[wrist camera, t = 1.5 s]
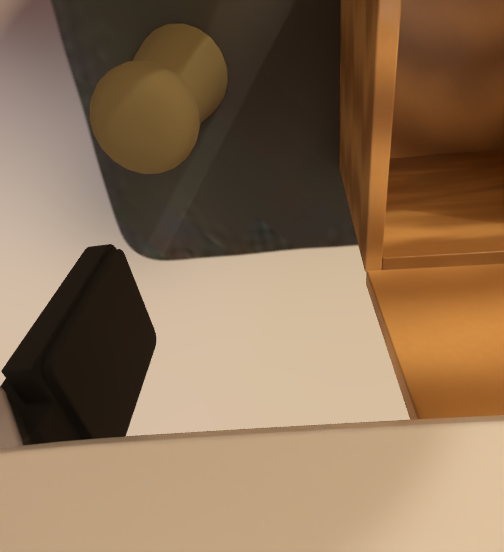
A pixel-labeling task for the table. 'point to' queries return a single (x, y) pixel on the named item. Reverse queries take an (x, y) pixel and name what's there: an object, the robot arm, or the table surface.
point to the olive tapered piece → (159, 99)
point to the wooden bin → (423, 130)
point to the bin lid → (444, 337)
